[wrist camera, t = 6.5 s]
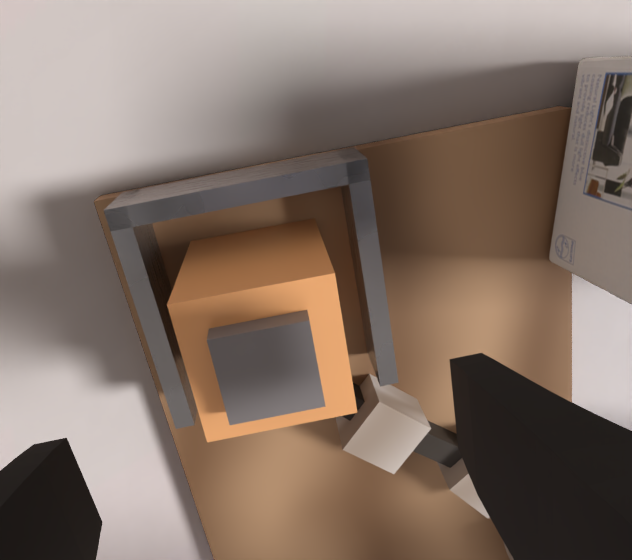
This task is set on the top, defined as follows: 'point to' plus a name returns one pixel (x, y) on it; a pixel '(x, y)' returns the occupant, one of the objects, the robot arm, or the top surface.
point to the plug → (262, 330)
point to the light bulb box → (598, 179)
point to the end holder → (231, 191)
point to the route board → (395, 349)
